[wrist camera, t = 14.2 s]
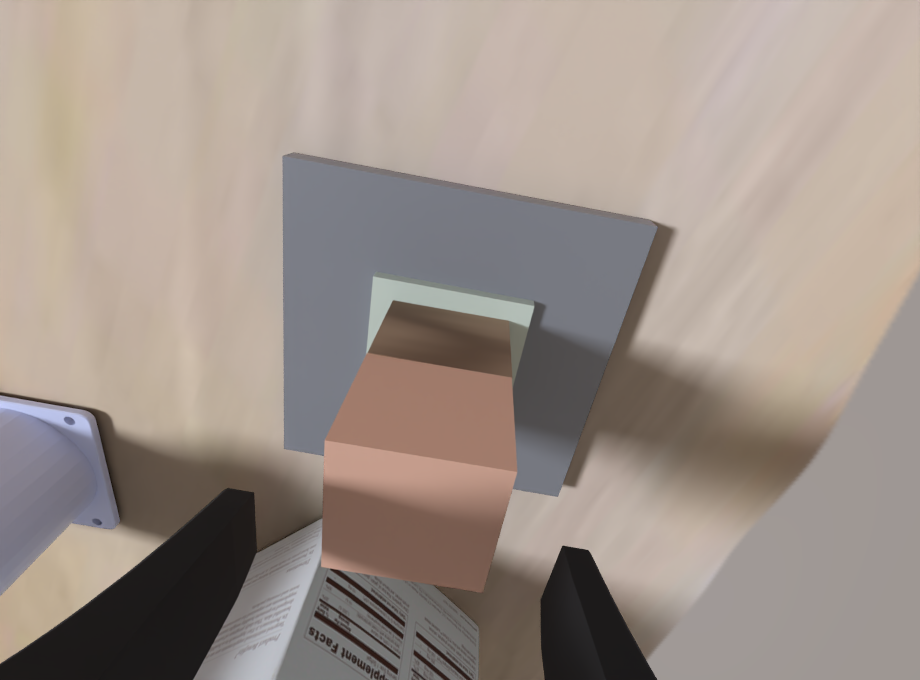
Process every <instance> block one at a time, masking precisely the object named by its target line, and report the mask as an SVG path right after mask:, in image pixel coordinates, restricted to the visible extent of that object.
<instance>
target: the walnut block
mask: <svg viewBox="0 0 920 680" xmlns="http://www.w3.org/2000/svg"><path fill="white" fill-rule="evenodd" d="M368 353H369V354H374V355H380V356H386V357H392V358H398V359H404V360H410V361H416V362H422V363H428V364H434V365H440V366H446V367H452V368H458V369H464V370H470V371H476V372H482V373H488V374H493V375H499V376H505V377H511V378H512V362H511V345H510V329H509V321H508V320H502V319H497V318H491V317H485V316H480V315H474V314H468V313H463V312H457V311H451V310H446V309H440V308H435V307H429V306H423V305H418V304H412V303H406V302H401V301H395V300H393V301H392V303H391V305H390V307H389V309H388V311H387V313H386V315H385V318H384V320H383V322H382V324H381V326H380V328H379V330H378V332H377V334H376V336H375V338H374V340H373V342H372V344H371V346H370V349H369V351H368Z"/></svg>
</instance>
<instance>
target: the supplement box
mask: <svg viewBox="0 0 920 680" xmlns="http://www.w3.org/2000/svg"><path fill="white" fill-rule="evenodd" d="M321 553H322V519H320V520H318V521H316V522H314V523H312V524H310V525H309V526H307V527H305V528H303V529H301V530H299V531H297V532H296V533H294V534H292V535H290V536H288V537H286V538H284V539H283V540H281V541H279V542H277V543H275V544H273V545H271V546H270V547H268V548H266V549H264V550H262V551H260V552H258V553H256V555H255V558H254V560H253V563H252V565H251V568H250V570H249V572H248V575H247V577H246V580H245V582H244V584H243V587H242V589H241V591H240V594H239V596H238V598H237V600H236V602H235V604H234V606H233V608H232V610H231V611H230V613H229V615H228V617H227V619H226V621H225V623H224V624H223V626H222V628H221V630H220V632H219V634H218V635H217V637H216V639H215V641H214V643H213V645H212V646H211V648H210V650H209V652H208V654H207V656H206V657H205V659H204V661H203V663H202V665H201V667H200V668H199V670H198V672H197V674H196V676H195V677H194V679H193V680H478V674H479V628H478V626H477V625H476V624H475V623H474V622H473V621H472V620H471V619H470V618H469V617H468V616H467V615H466V614H465V613H464V612H462V611H461V610H460V609H459V608H458V607H457V606H456V605H455V604H454V603H452V602H451V601H450V600H449V599H448V598H447V597H446V596H445V595H444V594H443V593H441V592H440V591H439V590H438V589H437V588H436V587H435V586H434V585H430V584H424V583H418V582H412V581H405V580H399V579H393V578H387V577H380V576H374V575H368V574H362V573H356V572H349V571H343V570H337V569H331V568H324V567H321Z"/></svg>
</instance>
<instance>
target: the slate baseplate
mask: <svg viewBox="0 0 920 680" xmlns="http://www.w3.org/2000/svg"><path fill="white" fill-rule="evenodd" d="M657 228H658V227H657V226H656V225H655V224H654V223H653V222H652V221H650V220H648V219H642V218H637V217H632V216H627V215H621V214H616V213H611V212H605V211H600V210H595V209H590V208H584V207H579V206H574V205H568V204H563V203H558V202H553V201H547V200H542V199H537V198H531V197H526V196H521V195H516V194H510V193H505V192H500V191H494V190H489V189H484V188H479V187H473V186H468V185H463V184H457V183H452V182H447V181H442V180H436V179H431V178H426V177H420V176H415V175H410V174H405V173H399V172H394V171H389V170H383V169H378V168H373V167H368V166H362V165H357V164H352V163H346V162H341V161H336V160H331V159H325V158H320V157H315V156H309V155H304V154H299V153H291V154H287V155H284V156H283V310H284V449H288V450H294V451H299V452H305V453H311V454H316V455H322V456H324V445H325V438H326V436H327V434H328V432H329V430H330V428H331V426H332V424H333V422H334V420H335V418H336V416H337V414H338V412H339V410H340V408H341V405H342V403H343V401H344V399H345V397H346V395H347V393H348V391H349V389H350V387H351V385H352V383H353V381H354V379H355V377H356V375H357V372H358V370H359V368H360V366H361V364H362V362H363V360H364V358H365V356H366V354H367V353H368V351H369V349H370V346H371V344H372V342H373V340H374V338H375V336H376V334H377V332H378V330H379V328H380V326H381V324H382V322H383V320H384V318H385V315H386V313H387V311H388V309H389V307H390V305H391V303H392V301H393V300H395V301H401V302H406V303H412V304H418V305H423V306H429V307H435V308H440V309H446V310H451V311H457V312H463V313H468V314H474V315H480V316H485V317H491V318H497V319H502V320H508V321H509V329H510V345H511V362H512V389H513V406H514V423H515V440H516V457H517V475H516V479H515V482H514V486H513V489H516V490H522V491H528V492H533V493H539V494H545V495H550V496H556V497H558V495H559V492H560V490H561V487H562V484H563V482H564V479H565V476H566V474H567V471H568V468H569V466H570V463H571V460H572V457H573V455H574V452H575V449H576V447H577V444H578V441H579V439H580V436H581V433H582V430H583V428H584V425H585V422H586V420H587V417H588V414H589V412H590V409H591V406H592V403H593V401H594V398H595V395H596V393H597V390H598V387H599V385H600V382H601V379H602V376H603V374H604V371H605V368H606V366H607V363H608V360H609V358H610V355H611V352H612V349H613V347H614V344H615V341H616V339H617V336H618V333H619V331H620V328H621V325H622V323H623V320H624V317H625V314H626V312H627V309H628V306H629V304H630V301H631V298H632V296H633V293H634V290H635V287H636V285H637V282H638V279H639V277H640V274H641V271H642V269H643V266H644V263H645V260H646V258H647V255H648V252H649V250H650V247H651V244H652V242H653V239H654V236H655V233H656V231H657Z"/></svg>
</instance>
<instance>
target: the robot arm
mask: <svg viewBox="0 0 920 680" xmlns="http://www.w3.org/2000/svg"><path fill="white" fill-rule="evenodd" d="M119 522H120V519H119V514H118V510H117V506H116V502H115V498H114V493H113V489H112V485H111V481H110V477H109V473H108V468H107V464H106V460H105V456H104V452H103V448H102V443H101V439H100V435H99V431H98V427H97V423H96V419H95V417H94V416H93V415H92V414H91V413H90V412H88V411H85V410H80V409H74V408H69V407H63V406H57V405H52V404H46V403H40V402H34V401H29V400H23V399H17V398H12V397H6V396H0V596H1V595H2V594H3V593H4V592H5V591H6V590H7V589H8V588H9V587H10V586H11V585H12V584H13V583H14V582H15V581H16V579H17V578H18V577H19V576H20V575H21V574H22V573H23V572H24V571H25V570H26V569H27V568H28V567H29V566H30V565H31V564H32V563H33V562H34V561H35V560H36V559H37V558H38V557H39V556H40V555H41V554H42V553H43V552H44V551H45V550H46V549H47V548H48V547H49V546H50V545H51V544H52V543H53V542H54V541H55V540H56V538H57V537H58V536H59V535H60V534H61V533H62V532H63V531H64V530H65V529H66V528H67V527H68V526H69V525H70V524H71V523H75V524H81V525H86V526H92V527H98V528H104V529H114V528H115V527H116V526H117V525H118V524H119ZM256 553H257V546H256V525H255V504H254V493H253V492H247V491H242V490H236V489H230V488H227V489H225V490H224V491H222V492H221V493H220V494H219V495H218V496H217V497H216V498H214V499H213V500H212V501H211V502H210V503H209V504H208V505H207V506H206V507H204V508H203V509H202V510H201V511H200V512H199V513H198V514H197V515H195V516H194V517H193V518H192V519H191V520H190V521H189V522H188V523H186V524H185V525H184V526H183V527H182V528H181V529H179V530H178V531H177V532H176V533H175V534H174V535H172V536H171V537H170V538H169V539H168V540H167V541H165V542H164V543H163V544H162V545H161V546H159V547H158V548H157V549H156V550H155V551H153V552H152V553H151V554H150V555H149V556H147V557H146V558H145V559H144V560H142V561H141V562H140V563H139V564H138V565H136V566H135V567H134V568H133V569H131V570H130V571H129V572H128V573H126V574H125V575H124V576H123V577H121V578H120V579H119V580H117V581H116V582H115V583H113V584H112V585H111V586H110V587H108V588H107V589H106V590H104V591H103V592H102V593H100V594H99V595H98V596H97V597H95V598H94V599H93V600H91V601H90V602H89V603H87V604H86V605H85V606H83V607H82V608H81V609H79V610H78V611H76V612H75V613H74V614H72V615H71V616H70V617H68V618H67V619H65V620H64V621H63V622H61V623H60V624H58V625H57V626H56V627H54V628H53V629H51V630H50V631H48V632H47V633H45V634H44V635H43V636H41V637H40V638H38V639H37V640H35V641H34V642H32V643H31V644H29V645H28V646H27V647H25V648H24V649H22V650H21V651H19V652H18V653H16V654H14V655H13V656H11V657H10V658H8V659H7V660H5V661H4V662H2V663H1V664H0V680H193V679H194V677H195V676H196V674H197V672H198V670H199V668H200V667H201V665H202V663H203V661H204V659H205V657H206V656H207V654H208V652H209V650H210V648H211V646H212V645H213V643H214V641H215V639H216V637H217V635H218V634H219V632H220V630H221V628H222V626H223V624H224V623H225V621H226V619H227V617H228V615H229V613H230V611H231V610H232V608H233V606H234V604H235V602H236V600H237V598H238V596H239V594H240V591H241V589H242V587H243V584H244V582H245V580H246V577H247V575H248V572H249V570H250V568H251V565H252V563H253V560H254V558H255V555H256ZM541 650H542V659H543V668H544V676H545V680H657V678H656V677H655V675H654V673H653V671H652V670H651V668H650V667H649V665H648V663H647V661H646V659H645V658H644V656H643V654H642V652H641V650H640V649H639V647H638V645H637V643H636V641H635V639H634V638H633V636H632V634H631V632H630V630H629V629H628V627H627V625H626V623H625V621H624V619H623V617H622V615H621V614H620V612H619V610H618V608H617V606H616V604H615V602H614V600H613V598H612V596H611V594H610V592H609V590H608V588H607V586H606V584H605V582H604V580H603V578H602V576H601V574H600V572H599V570H598V567H597V565H596V563H595V561H594V559H593V557H592V555H591V553H590V552H589V551H588V550H585V549H579V548H573V547H567V546H562V548H561V551H560V553H559V556H558V558H557V560H556V563H555V565H554V568H553V570H552V573H551V575H550V578H549V580H548V583H547V585H546V588H545V590H544V593H543V595H542V598H541Z"/></svg>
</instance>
